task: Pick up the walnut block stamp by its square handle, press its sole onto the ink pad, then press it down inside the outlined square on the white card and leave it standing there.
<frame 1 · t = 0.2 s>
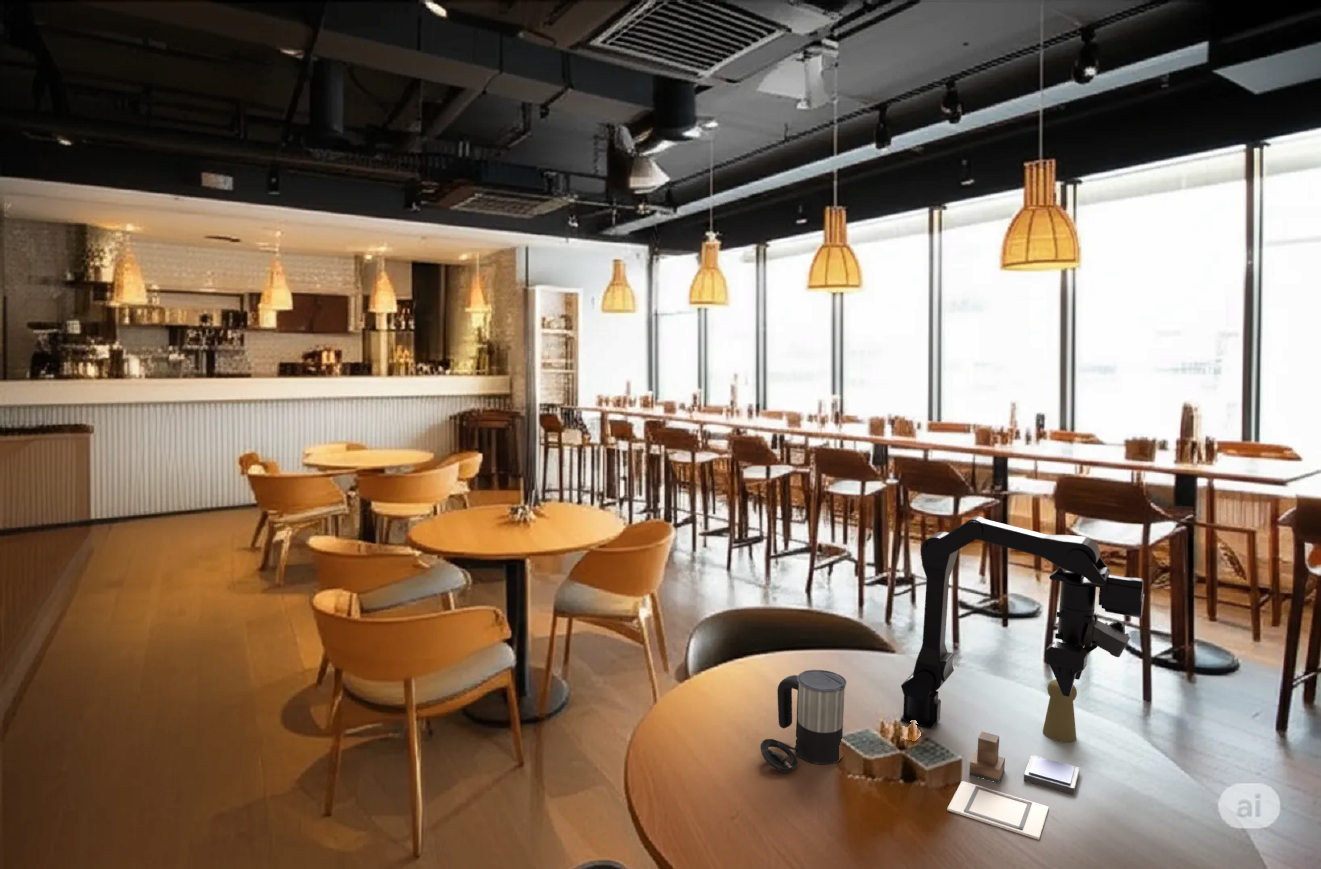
hand: (1071, 687, 145), 14 cm above the table, tool pointing down, fingers open, 9 cm apart
milk frother: (802, 759, 147), on the table
print card: (998, 809, 131), on the table
cork: (1059, 735, 156), on the table
stamp: (986, 773, 142), on the table
ink pad: (1051, 777, 140), on the table
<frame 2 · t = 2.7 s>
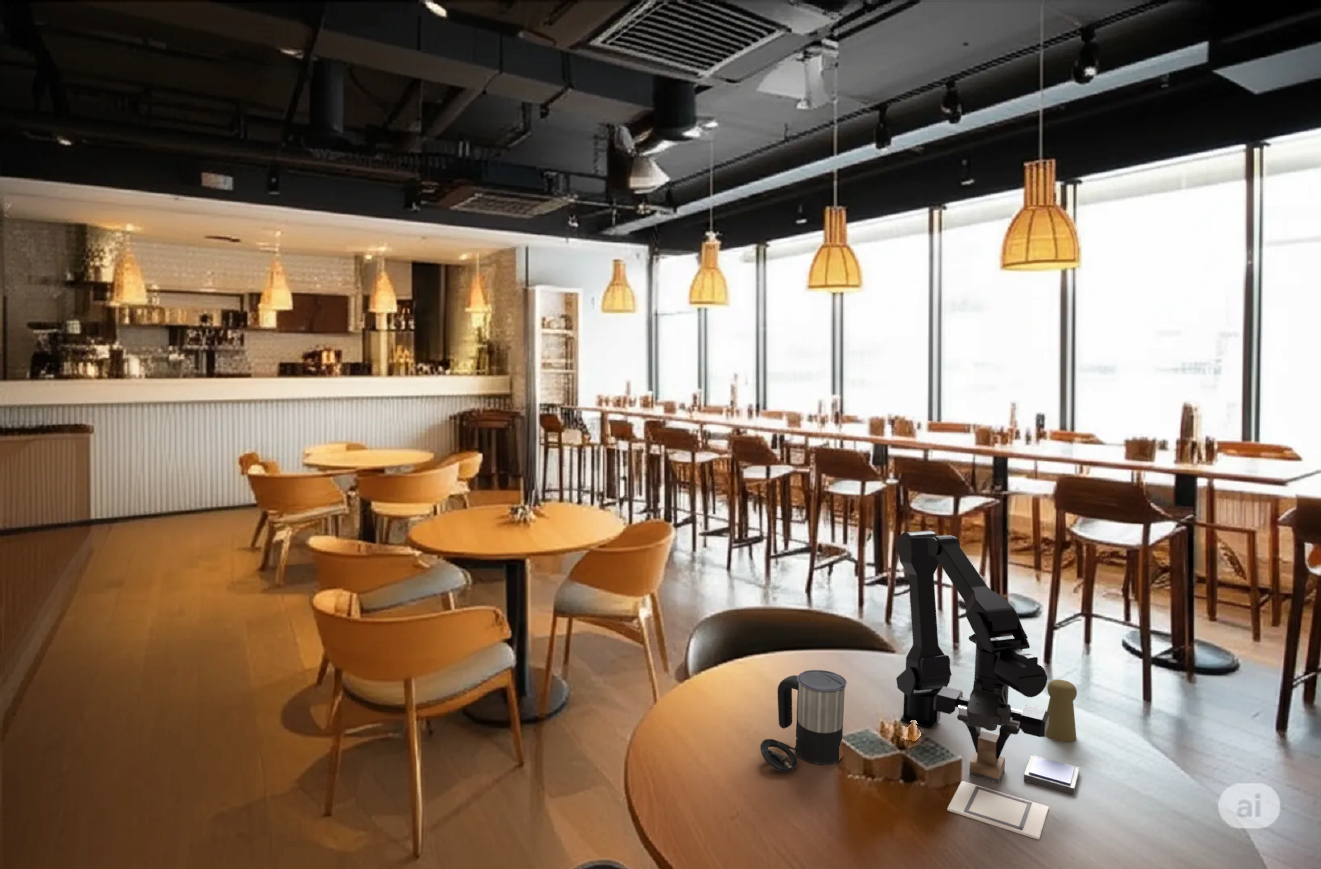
hand: (987, 754, 142), 3 cm above the table, tool pointing down, fingers closed on stamp, 3 cm apart
stamp: (987, 772, 142), on the table, touching gripper
everything else where it was.
when the fingers open (4 cm above the table, at t = 10.2 s): stamp stays where it is, resting on print card.
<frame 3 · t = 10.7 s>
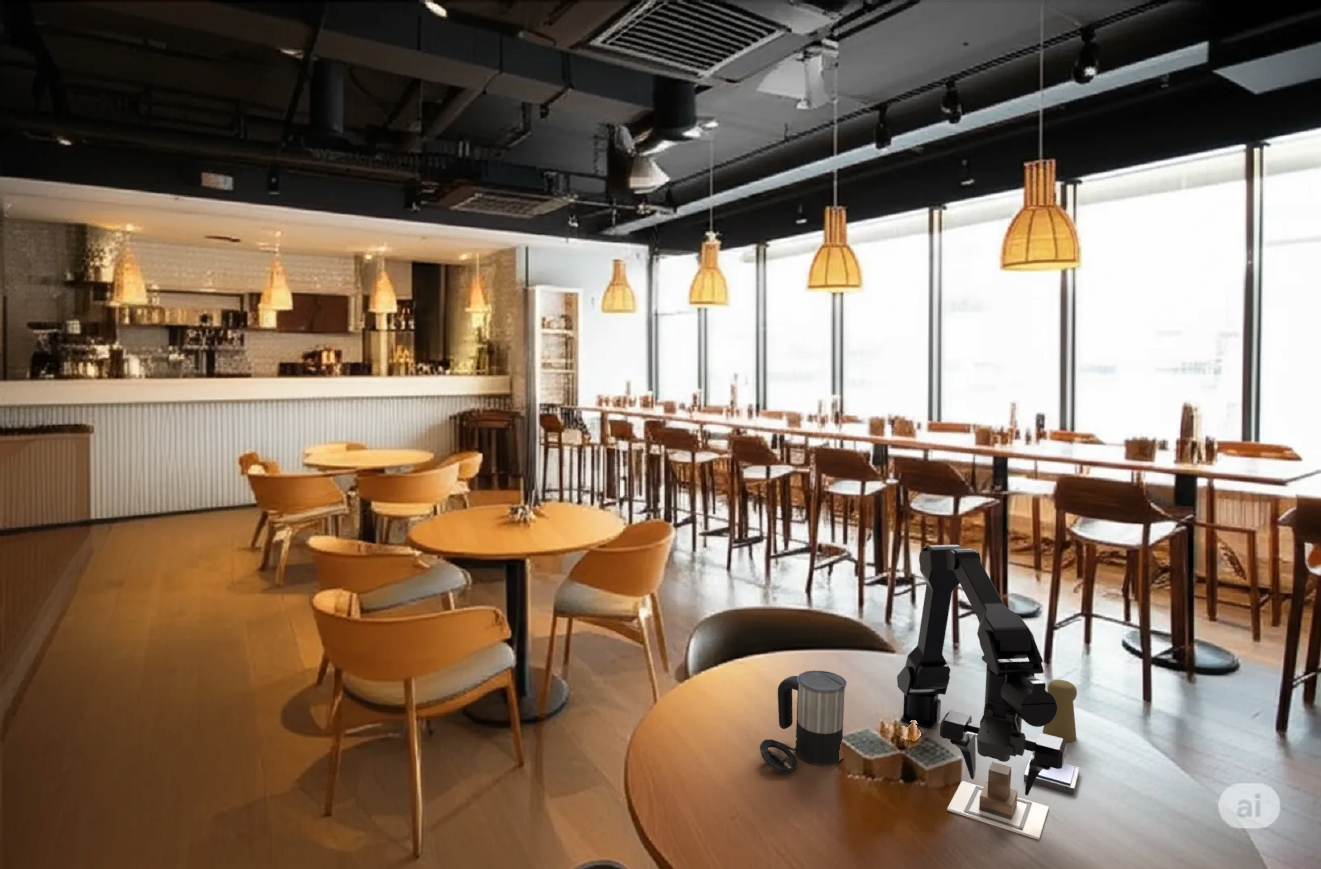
hand: (999, 786, 130), 4 cm above the table, tool pointing down, fingers open, 8 cm apart
stamp: (998, 807, 131), resting on print card
everything else where it was.
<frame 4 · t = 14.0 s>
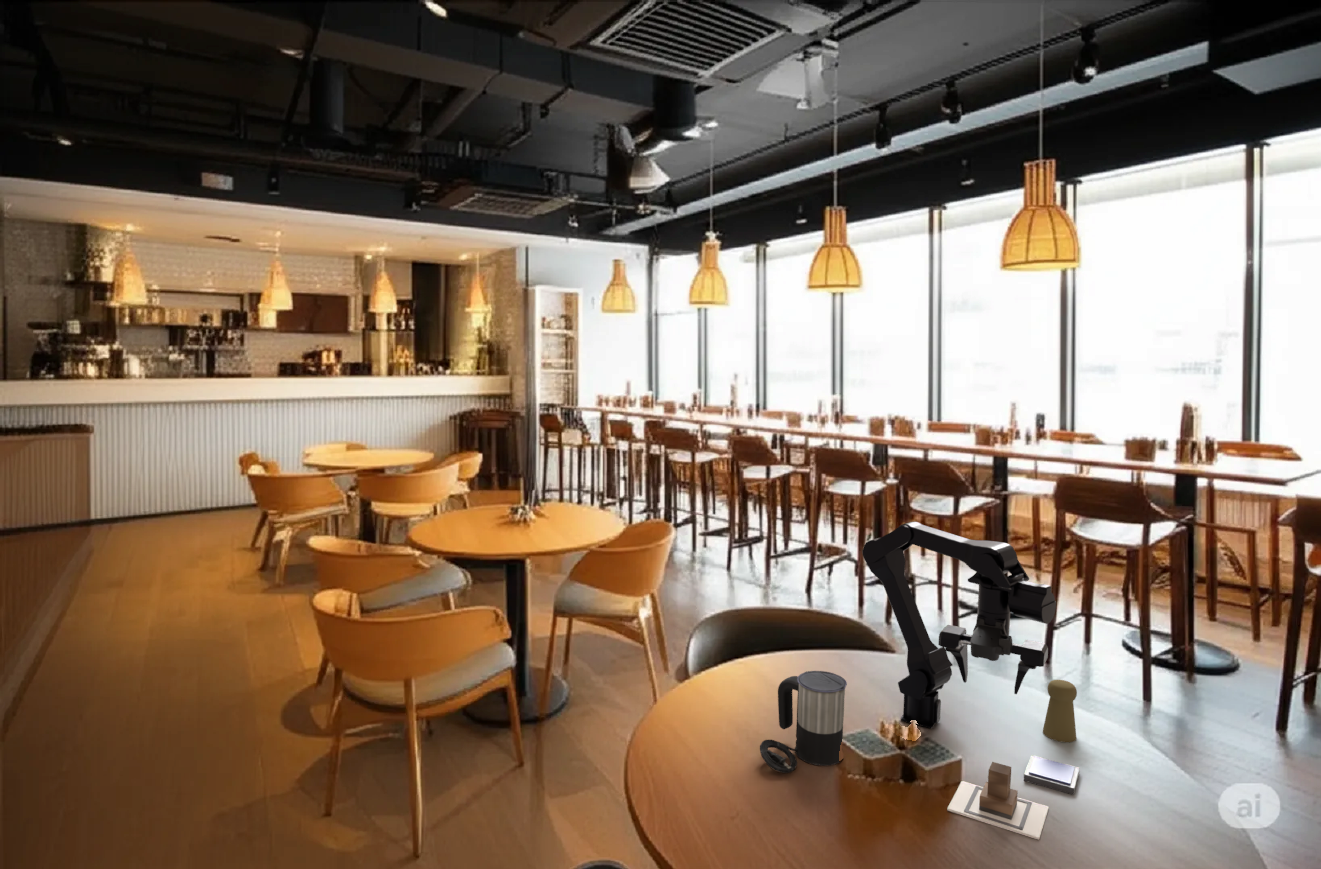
hand: (990, 687, 150), 12 cm above the table, tool pointing down, fingers open, 9 cm apart
nothing on the table moved.
at the end: stamp 0.1 cm off-centre on the print card, point 0.4 cm above the print card's base; stamp tilted 0°; the gripper is holding nothing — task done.
